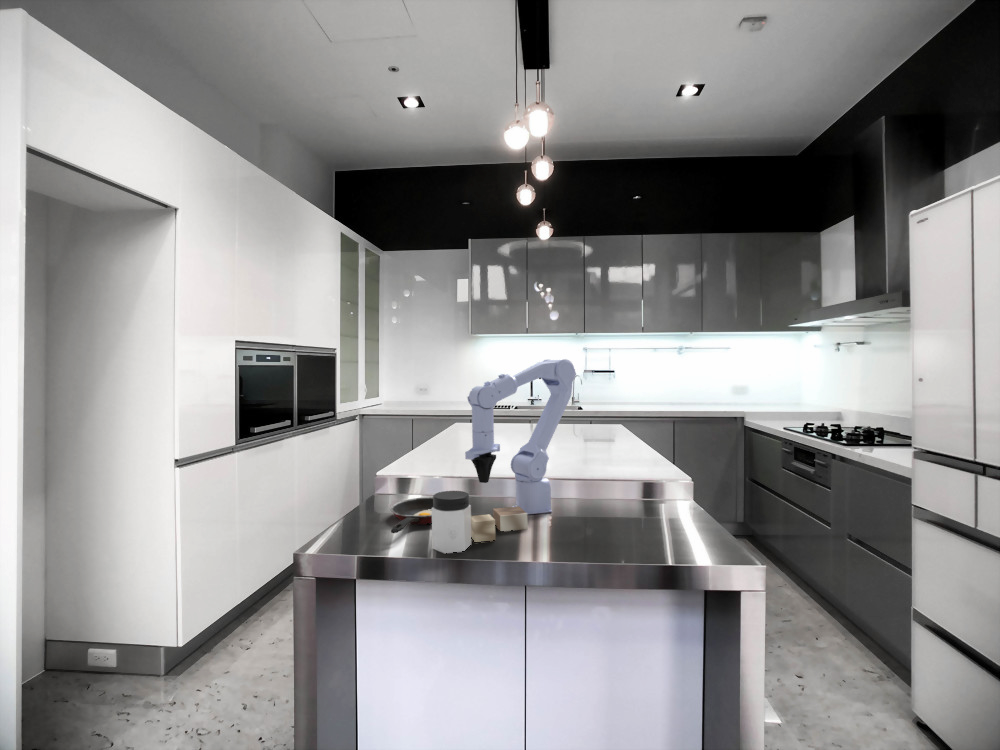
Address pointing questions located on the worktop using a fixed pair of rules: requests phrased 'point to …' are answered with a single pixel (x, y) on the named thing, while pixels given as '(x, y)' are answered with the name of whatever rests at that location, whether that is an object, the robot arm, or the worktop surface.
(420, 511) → the frying pan
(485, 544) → the worktop surface
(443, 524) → the jar
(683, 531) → the worktop surface
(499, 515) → the walnut block
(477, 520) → the maple block
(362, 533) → the worktop surface
